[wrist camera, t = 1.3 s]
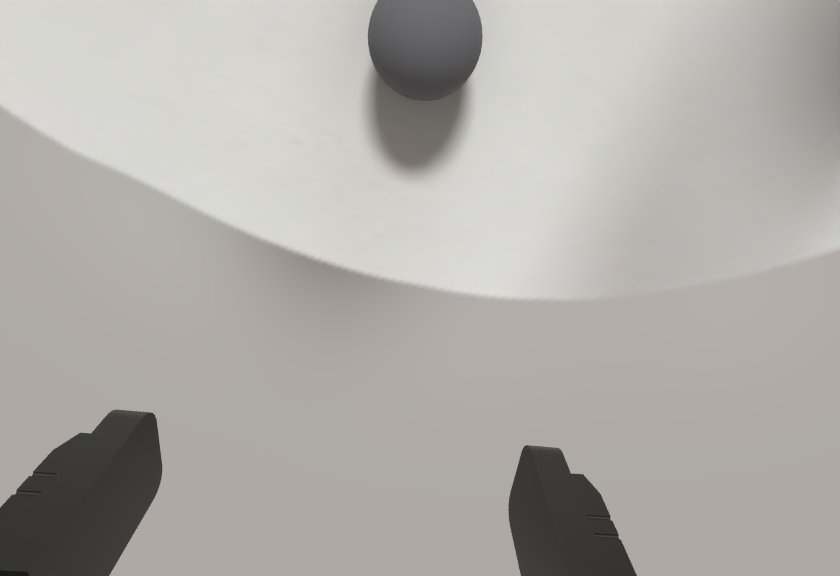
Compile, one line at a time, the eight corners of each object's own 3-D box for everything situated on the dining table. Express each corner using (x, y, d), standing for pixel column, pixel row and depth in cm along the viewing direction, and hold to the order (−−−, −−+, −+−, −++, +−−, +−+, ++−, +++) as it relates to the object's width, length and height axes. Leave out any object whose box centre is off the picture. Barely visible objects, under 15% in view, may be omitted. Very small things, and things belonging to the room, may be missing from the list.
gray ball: (481, -16, 25) (497, -32, 20) (469, 99, 28) (481, 110, 23) (374, -24, 25) (363, -43, 20) (371, 92, 27) (361, 101, 22)
